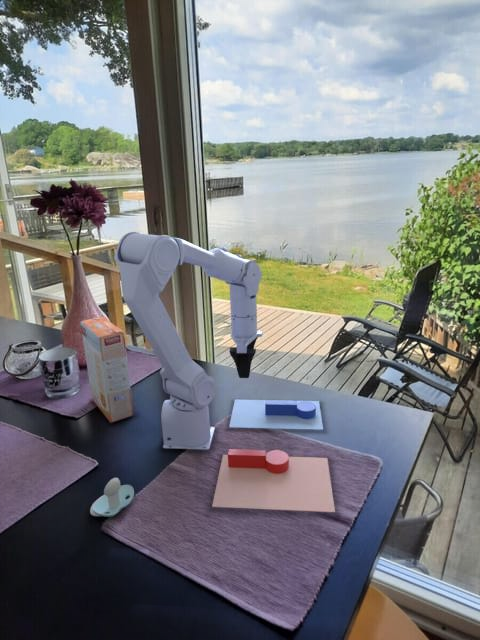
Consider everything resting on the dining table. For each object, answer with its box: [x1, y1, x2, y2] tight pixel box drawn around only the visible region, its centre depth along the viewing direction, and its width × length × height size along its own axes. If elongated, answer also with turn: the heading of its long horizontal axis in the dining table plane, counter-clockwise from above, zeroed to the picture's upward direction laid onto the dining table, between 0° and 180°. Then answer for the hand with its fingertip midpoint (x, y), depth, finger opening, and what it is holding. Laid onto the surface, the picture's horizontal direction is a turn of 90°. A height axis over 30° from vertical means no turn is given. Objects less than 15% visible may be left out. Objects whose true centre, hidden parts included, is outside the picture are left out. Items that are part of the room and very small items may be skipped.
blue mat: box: [228, 399, 324, 431], centre depth 99 cm, size 20×12×1 cm, turn 85°
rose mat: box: [211, 454, 336, 513], centre depth 78 cm, size 20×14×1 cm
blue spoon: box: [265, 399, 316, 419], centre depth 98 cm, size 11×4×3 cm, turn 85°
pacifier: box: [89, 477, 135, 518], centre depth 73 cm, size 7×6×6 cm
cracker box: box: [80, 316, 134, 424], centre depth 102 cm, size 14×6×21 cm, turn 34°
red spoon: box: [227, 448, 290, 474], centre depth 82 cm, size 11×4×3 cm, turn 85°
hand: (245, 369), depth 101 cm, fingers open, 7 cm apart
